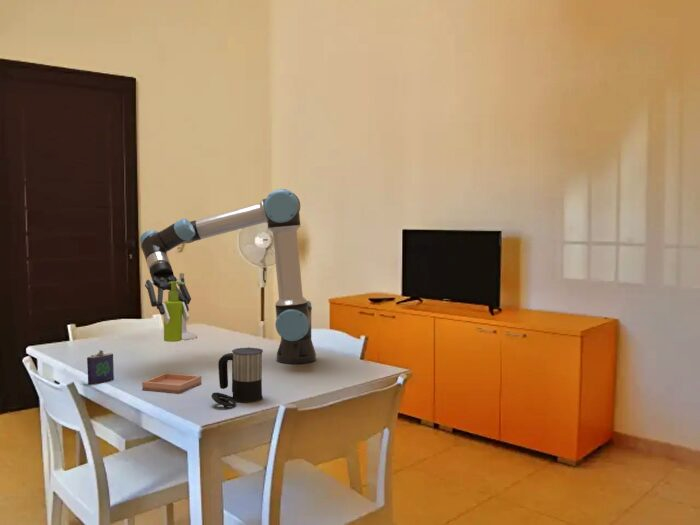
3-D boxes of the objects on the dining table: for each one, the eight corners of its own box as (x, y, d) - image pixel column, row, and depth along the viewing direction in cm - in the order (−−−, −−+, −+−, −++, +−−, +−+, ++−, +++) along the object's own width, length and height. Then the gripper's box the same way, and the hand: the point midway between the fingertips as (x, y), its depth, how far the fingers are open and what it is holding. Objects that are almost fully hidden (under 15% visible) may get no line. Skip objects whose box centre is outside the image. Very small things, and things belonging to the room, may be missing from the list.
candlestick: (167, 336, 299) (166, 271, 297) (196, 334, 303) (195, 270, 301) (168, 341, 287) (167, 273, 285) (198, 339, 290) (197, 273, 288)
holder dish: (201, 383, 212) (201, 376, 212) (179, 393, 200) (179, 385, 200) (165, 380, 217) (165, 373, 216) (142, 389, 205) (142, 382, 204)
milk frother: (264, 394, 200) (264, 347, 199) (259, 409, 184) (258, 357, 183) (218, 394, 199) (218, 347, 198) (208, 409, 184) (208, 358, 183)
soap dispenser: (179, 342, 215) (180, 282, 214) (160, 341, 217) (161, 281, 216) (187, 339, 221) (188, 281, 220) (169, 338, 223) (169, 280, 221)
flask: (111, 378, 219) (110, 347, 219) (116, 379, 218) (115, 348, 217) (86, 384, 212) (85, 351, 211) (91, 385, 210) (90, 352, 209)
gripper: (183, 273, 235) (201, 324, 223) (130, 276, 224) (147, 329, 212) (188, 259, 231) (207, 311, 219) (135, 261, 220) (152, 315, 208)
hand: (177, 320), depth 216 cm, fingers closed on soap dispenser, 6 cm apart
